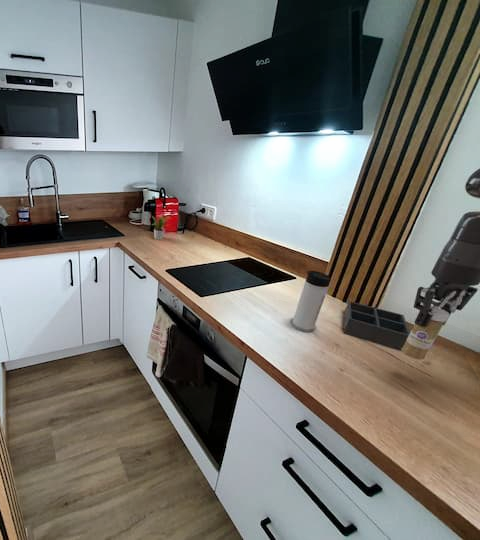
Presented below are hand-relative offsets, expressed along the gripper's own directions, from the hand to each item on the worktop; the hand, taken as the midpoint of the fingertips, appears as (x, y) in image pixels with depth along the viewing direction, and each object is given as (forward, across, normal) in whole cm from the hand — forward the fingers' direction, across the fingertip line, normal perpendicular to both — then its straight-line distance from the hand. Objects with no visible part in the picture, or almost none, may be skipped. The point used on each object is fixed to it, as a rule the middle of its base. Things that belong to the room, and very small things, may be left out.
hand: (428, 324), depth 70 cm
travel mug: (+17, -10, +24) cm, 31 cm away
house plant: (+17, -31, +124) cm, 128 cm away
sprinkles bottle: (+10, 0, 0) cm, 10 cm away
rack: (+17, +12, +19) cm, 28 cm away
